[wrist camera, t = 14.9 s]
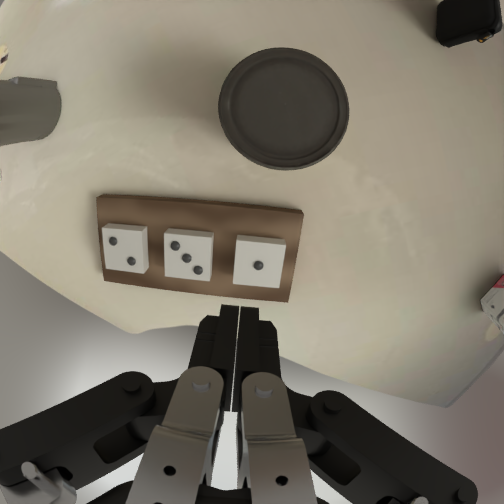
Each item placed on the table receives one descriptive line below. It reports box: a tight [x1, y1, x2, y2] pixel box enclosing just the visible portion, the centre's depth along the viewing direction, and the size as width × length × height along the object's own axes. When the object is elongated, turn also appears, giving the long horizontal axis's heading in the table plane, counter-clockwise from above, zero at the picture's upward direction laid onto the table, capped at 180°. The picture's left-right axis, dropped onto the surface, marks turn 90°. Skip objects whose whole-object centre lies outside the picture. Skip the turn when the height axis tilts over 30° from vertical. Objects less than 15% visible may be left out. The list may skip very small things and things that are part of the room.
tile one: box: [233, 235, 286, 288], centre depth 36 cm, size 6×6×2 cm
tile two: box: [102, 223, 149, 274], centre depth 36 cm, size 6×6×2 cm
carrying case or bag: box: [436, 0, 502, 48], centre depth 18 cm, size 11×3×15 cm, turn 167°
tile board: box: [96, 194, 304, 302], centre depth 38 cm, size 13×28×2 cm, turn 84°
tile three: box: [164, 228, 214, 281], centre depth 36 cm, size 6×6×2 cm
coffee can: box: [218, 48, 349, 170], centre depth 26 cm, size 10×10×14 cm
